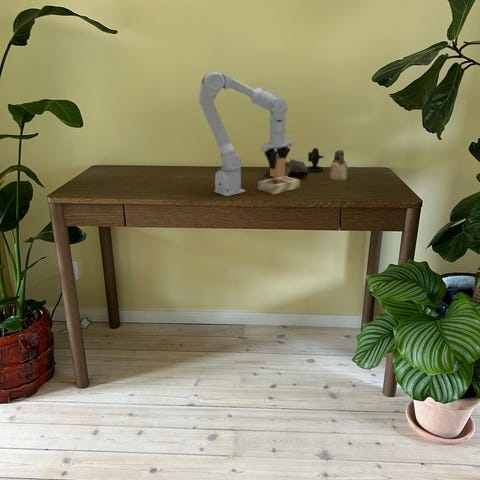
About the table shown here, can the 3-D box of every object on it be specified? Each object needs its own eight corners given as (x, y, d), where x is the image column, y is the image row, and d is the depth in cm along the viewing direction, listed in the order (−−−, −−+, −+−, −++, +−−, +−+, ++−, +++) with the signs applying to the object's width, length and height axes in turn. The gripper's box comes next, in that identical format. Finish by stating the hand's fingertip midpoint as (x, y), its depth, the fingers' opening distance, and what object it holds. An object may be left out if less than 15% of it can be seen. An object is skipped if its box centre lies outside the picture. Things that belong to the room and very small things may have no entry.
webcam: (305, 168, 220) (306, 146, 216) (322, 168, 219) (323, 146, 215) (306, 172, 212) (307, 149, 209) (323, 172, 212) (325, 150, 208)
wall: (262, 182, 215) (257, 164, 199) (269, 163, 218) (264, 143, 202) (302, 192, 210) (300, 174, 195) (309, 172, 213) (307, 153, 197)
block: (276, 177, 184) (277, 159, 181) (269, 175, 186) (270, 157, 184) (284, 176, 186) (285, 158, 183) (277, 173, 189) (278, 156, 186)
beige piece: (273, 194, 182) (274, 186, 181) (258, 189, 188) (258, 181, 187) (299, 187, 190) (300, 179, 189) (283, 182, 197) (283, 175, 196)
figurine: (344, 176, 206) (346, 148, 201) (348, 180, 199) (351, 151, 195) (328, 176, 206) (329, 148, 201) (331, 180, 199) (333, 151, 195)
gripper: (270, 135, 173) (270, 172, 178) (298, 130, 182) (297, 166, 187) (257, 132, 178) (257, 169, 183) (285, 128, 187) (284, 163, 192)
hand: (276, 167), depth 185 cm, fingers closed on block, 4 cm apart
